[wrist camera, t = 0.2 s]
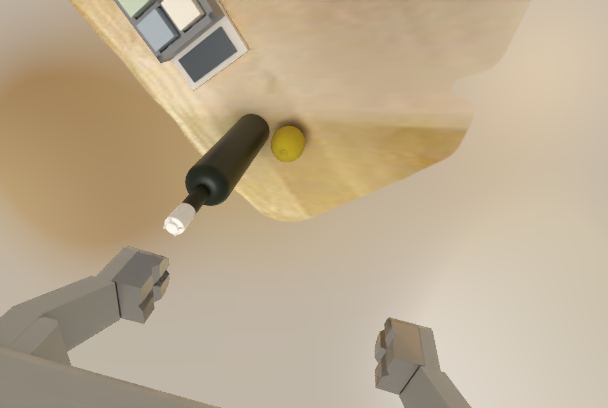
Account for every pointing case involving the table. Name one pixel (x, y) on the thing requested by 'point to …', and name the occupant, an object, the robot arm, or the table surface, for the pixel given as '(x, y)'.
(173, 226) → the wine bottle
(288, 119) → the table surface
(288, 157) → the lemon
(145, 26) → the key slate
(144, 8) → the key sage
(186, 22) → the key ivory
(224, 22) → the keypad
